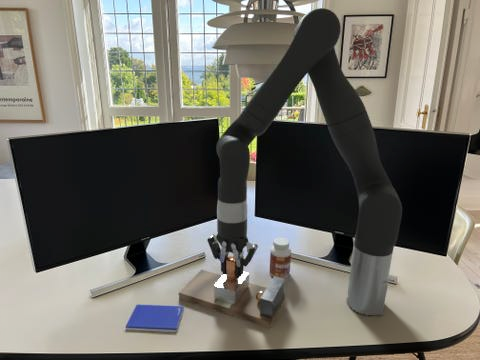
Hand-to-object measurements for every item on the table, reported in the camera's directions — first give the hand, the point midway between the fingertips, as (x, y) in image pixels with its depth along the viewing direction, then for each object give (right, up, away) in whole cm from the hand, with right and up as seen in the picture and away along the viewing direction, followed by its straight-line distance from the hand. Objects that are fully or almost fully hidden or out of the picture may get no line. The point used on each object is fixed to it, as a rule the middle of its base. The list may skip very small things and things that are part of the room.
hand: (232, 274), depth 90 cm
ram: (0, -5, +2) cm, 5 cm away
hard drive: (-19, -10, -5) cm, 22 cm away
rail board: (0, -7, +2) cm, 8 cm away
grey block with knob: (+9, -7, -2) cm, 11 cm away
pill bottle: (+14, -4, +14) cm, 20 cm away
